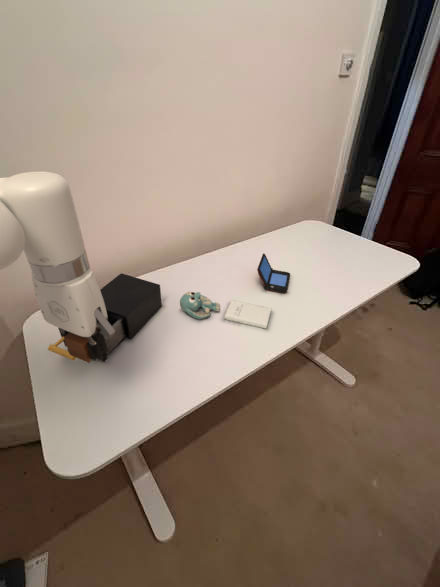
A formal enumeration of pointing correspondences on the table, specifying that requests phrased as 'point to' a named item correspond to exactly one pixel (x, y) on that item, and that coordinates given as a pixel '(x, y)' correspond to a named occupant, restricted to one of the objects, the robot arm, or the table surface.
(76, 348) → the block
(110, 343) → the drawer
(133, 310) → the cabinet
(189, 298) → the stuffed animal
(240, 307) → the hard drive
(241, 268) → the table surface
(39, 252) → the robot arm
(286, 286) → the handheld console
